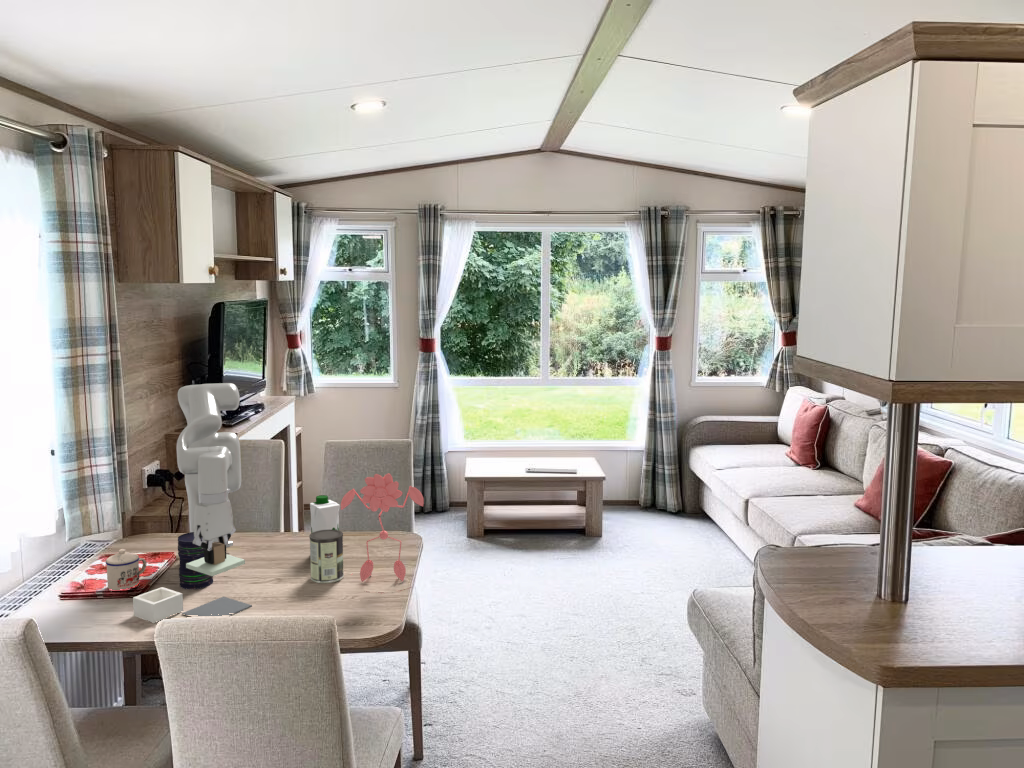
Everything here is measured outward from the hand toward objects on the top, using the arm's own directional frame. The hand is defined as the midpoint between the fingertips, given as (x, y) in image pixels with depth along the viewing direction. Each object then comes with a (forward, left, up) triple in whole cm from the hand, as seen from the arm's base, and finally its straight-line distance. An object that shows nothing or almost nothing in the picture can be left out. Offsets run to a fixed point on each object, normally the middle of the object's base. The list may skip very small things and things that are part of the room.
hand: (215, 559), depth 217 cm
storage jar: (-10, -22, -15) cm, 28 cm away
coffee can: (-35, +8, -15) cm, 39 cm away
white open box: (+10, -12, -15) cm, 21 cm away
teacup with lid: (+2, -38, -15) cm, 40 cm away
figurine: (-40, +26, -15) cm, 50 cm away
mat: (0, 0, -15) cm, 15 cm away
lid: (0, 0, -2) cm, 2 cm away
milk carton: (-50, -7, -15) cm, 52 cm away
